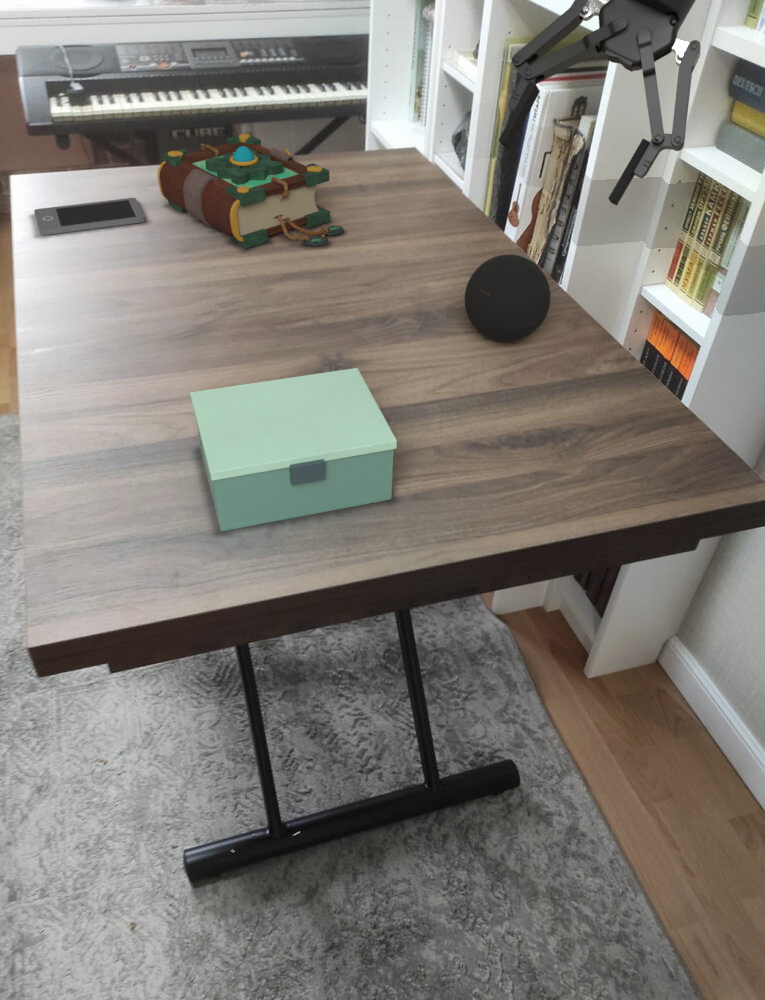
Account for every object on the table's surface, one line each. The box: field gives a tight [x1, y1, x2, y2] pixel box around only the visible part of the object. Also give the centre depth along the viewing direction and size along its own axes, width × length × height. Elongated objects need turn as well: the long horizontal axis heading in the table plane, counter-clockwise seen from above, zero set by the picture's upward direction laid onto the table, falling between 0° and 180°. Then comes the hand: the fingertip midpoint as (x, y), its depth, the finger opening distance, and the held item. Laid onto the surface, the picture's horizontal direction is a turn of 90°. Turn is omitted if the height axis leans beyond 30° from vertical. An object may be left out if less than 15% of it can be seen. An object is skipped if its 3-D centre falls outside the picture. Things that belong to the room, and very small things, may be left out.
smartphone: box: [33, 197, 146, 236], centre depth 124 cm, size 15×8×1 cm, turn 113°
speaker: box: [464, 254, 552, 343], centre depth 98 cm, size 10×10×10 cm
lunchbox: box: [189, 367, 398, 532], centre depth 78 cm, size 16×13×7 cm
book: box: [157, 133, 344, 249], centre depth 123 cm, size 27×21×10 cm
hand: (557, 173), depth 90 cm, fingers open, 13 cm apart
